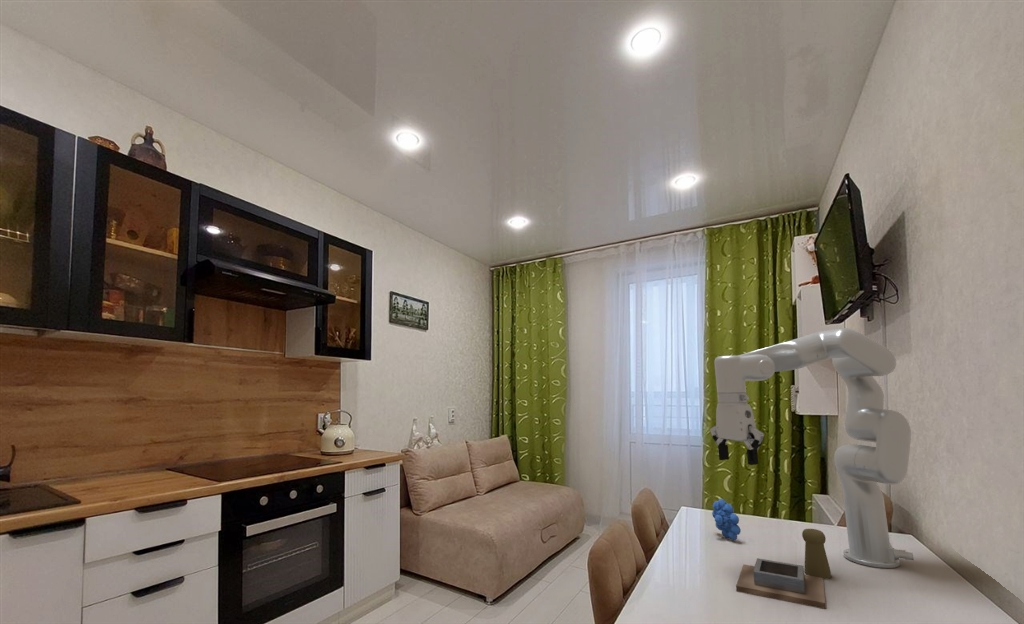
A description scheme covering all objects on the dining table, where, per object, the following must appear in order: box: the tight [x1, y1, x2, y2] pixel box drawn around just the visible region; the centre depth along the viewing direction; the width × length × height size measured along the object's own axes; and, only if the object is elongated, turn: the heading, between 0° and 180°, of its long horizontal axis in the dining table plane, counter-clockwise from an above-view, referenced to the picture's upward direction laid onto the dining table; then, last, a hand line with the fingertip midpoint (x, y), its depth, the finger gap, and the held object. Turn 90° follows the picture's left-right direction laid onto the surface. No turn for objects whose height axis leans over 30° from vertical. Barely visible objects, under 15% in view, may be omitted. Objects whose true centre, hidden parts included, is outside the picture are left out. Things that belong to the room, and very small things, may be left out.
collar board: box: [735, 563, 826, 610], centre depth 114 cm, size 18×16×1 cm
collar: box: [753, 558, 806, 594], centre depth 114 cm, size 10×10×3 cm
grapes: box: [711, 498, 741, 541], centre depth 151 cm, size 12×7×12 cm, turn 16°
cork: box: [801, 528, 833, 580], centre depth 122 cm, size 6×6×11 cm
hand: (738, 462), depth 128 cm, fingers open, 9 cm apart
